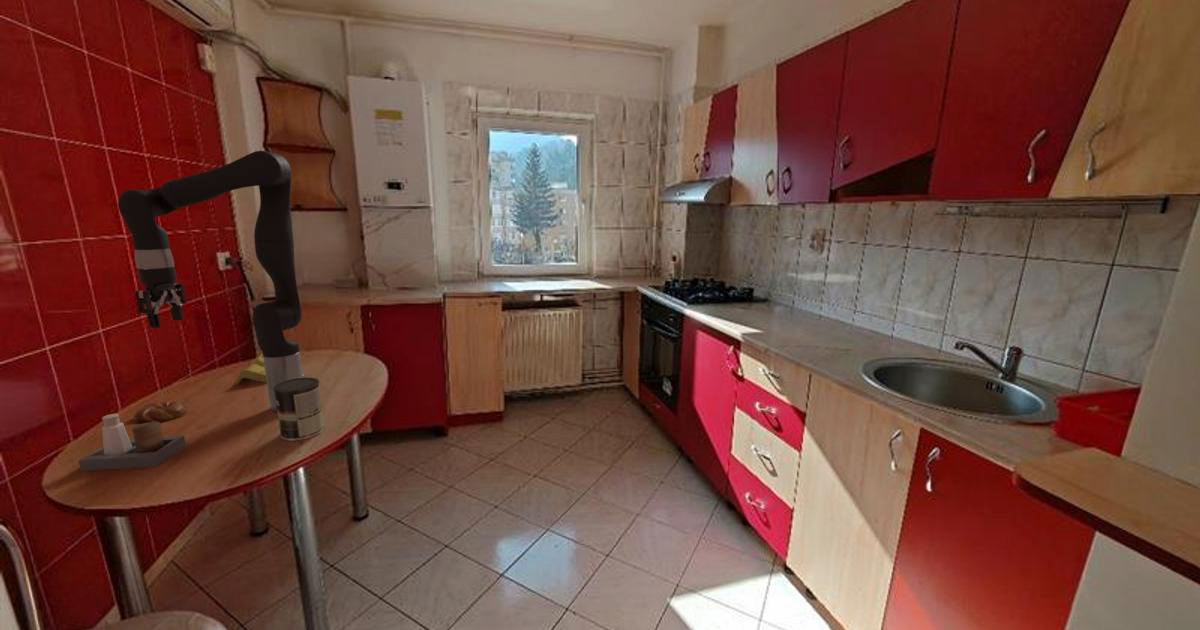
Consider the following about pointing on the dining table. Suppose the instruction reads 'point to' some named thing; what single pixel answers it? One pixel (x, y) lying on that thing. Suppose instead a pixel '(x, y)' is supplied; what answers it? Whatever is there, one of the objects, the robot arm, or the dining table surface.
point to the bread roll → (160, 412)
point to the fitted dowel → (148, 437)
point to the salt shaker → (114, 435)
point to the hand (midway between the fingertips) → (167, 323)
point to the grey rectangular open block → (132, 456)
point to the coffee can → (299, 408)
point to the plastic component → (254, 371)
